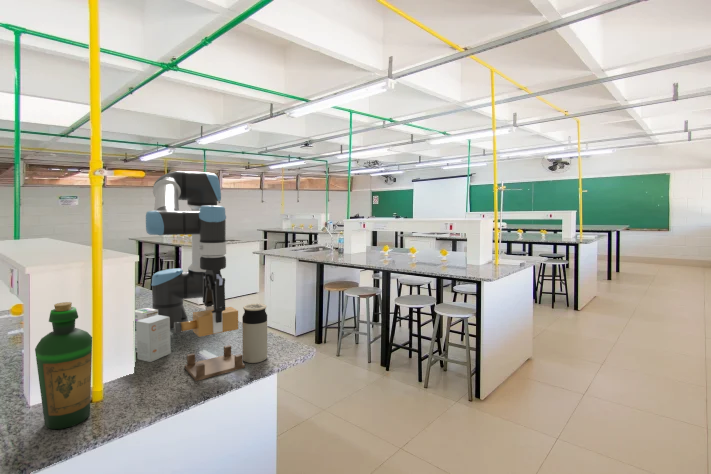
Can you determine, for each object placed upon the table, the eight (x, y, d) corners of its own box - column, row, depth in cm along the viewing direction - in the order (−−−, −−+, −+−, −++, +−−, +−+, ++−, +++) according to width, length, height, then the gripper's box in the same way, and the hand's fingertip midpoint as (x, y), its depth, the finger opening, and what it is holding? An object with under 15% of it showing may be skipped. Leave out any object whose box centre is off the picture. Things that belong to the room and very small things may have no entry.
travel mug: (258, 365, 120) (258, 310, 119) (237, 361, 123) (237, 307, 122) (271, 356, 128) (271, 304, 126) (252, 352, 130) (252, 302, 129)
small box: (157, 350, 131) (156, 314, 130) (171, 353, 128) (170, 316, 127) (136, 359, 123) (135, 320, 122) (150, 362, 121) (149, 323, 120)
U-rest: (195, 381, 109) (195, 367, 108) (184, 367, 117) (184, 354, 117) (244, 367, 118) (244, 354, 118) (231, 356, 127) (231, 344, 127)
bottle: (65, 436, 82) (59, 312, 80) (26, 430, 84) (19, 308, 82) (106, 411, 92) (102, 299, 90) (71, 405, 95) (66, 296, 92)
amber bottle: (231, 324, 123) (231, 306, 123) (238, 329, 119) (238, 310, 118) (172, 335, 112) (172, 315, 112) (177, 340, 107) (177, 320, 107)
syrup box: (133, 351, 129) (131, 310, 128) (149, 346, 134) (148, 306, 133) (144, 355, 127) (142, 313, 125) (159, 349, 132) (158, 309, 131)
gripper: (191, 253, 120) (192, 323, 122) (211, 260, 105) (212, 340, 107) (214, 251, 125) (215, 319, 126) (236, 258, 110) (237, 335, 112)
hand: (213, 329), depth 117 cm, fingers closed on amber bottle, 6 cm apart
